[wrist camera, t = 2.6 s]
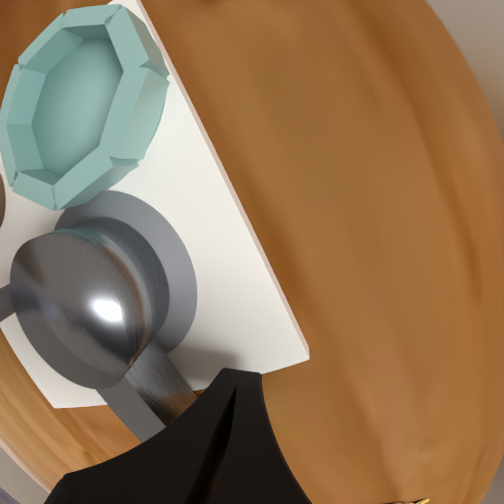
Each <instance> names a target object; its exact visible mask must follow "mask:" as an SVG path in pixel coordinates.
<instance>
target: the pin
mask: <svg viewBox="0 0 504 504" xmlns="http://www.w3.org/2000/svg"><path fill="white" fill-rule="evenodd" d="M5 208H6V196H5V187H4V182H3V179H2V176H1V173H0V227H1V226H2V223H3V220H4V216H5Z"/></svg>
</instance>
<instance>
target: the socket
mask: <svg viewBox="0 0 504 504" xmlns="http://www.w3.org/2000/svg"><path fill="white" fill-rule="evenodd" d="M18 62H19V64H18V65H14V68H13V71H12V74H11V76H10V79H9V82H8V86H7V89H6V92H5V95H4V99H3V102H2V106H1V110H0V154H1V158H2V162H3V166H4V170H5V174H6V177H7V181H8V184H9V187H13V189H12V192H14V193H16V194H18V195H21V196H23V197H25V198H27V199H29V200H31V201H33V202H35V203H37V204H39V205H41V206H43V207H45V208H47V209H50V210H52V211H56V210H62V209H66V208H70V207H74V206H78V205H82V204H86V203H87V202H89V201H90V200H91V199H93V198H94V197H95V196H97V195H98V194H99V193H101V192H102V191H106V190H107V189H109V188H111V187H112V186H114V185H115V184H117V183H118V182H119V181H120V180H122V179H123V178H124V177H125V176H126V175H127V174H128V173H129V172H131V171H132V170H134V169H135V168H137V167H138V166H139V165H138V162H139V160H140V159H144V157H145V153H146V150H147V148H148V147H149V145H150V143H151V141H152V139H153V137H154V135H155V133H156V130H157V128H158V125H159V123H160V120H161V116H162V113H163V110H164V105H165V99H166V91H167V89H168V86H169V84H170V82H169V81H168V80H167V76H168V75H170V73H169V71H168V69H167V67H166V65H165V62H164V58H163V55H162V53H161V50H160V48H159V47H158V45H157V44H156V42H155V41H154V40H153V38H152V36H151V34H150V32H149V30H148V28H147V26H146V24H145V23H144V22H143V21H142V20H141V19H139V18H138V17H137V16H136V15H135V14H134V13H132V12H131V11H130V10H129V9H128V8H126V7H125V6H124V7H123V6H122V5H121V4H111V5H100V6H91V7H83V8H77V9H70V10H67V12H66V14H63V13H62V14H61V15H60V16H59V17H57V18H56V19H55V20H54V21H53V22H52V23H51V24H50V25H49V26H48V27H47V28H46V29H45V30H44V31H43V32H42V33H41V34H40V35H39V36H38V37H37V38H36V39H35V40H34V41H33V42H32V44H31V45H30V46H29V47H28V48H27V49H26V50H25V51H24V52H23V54H22V55H21V56H20V57H19V58H18Z"/></svg>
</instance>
